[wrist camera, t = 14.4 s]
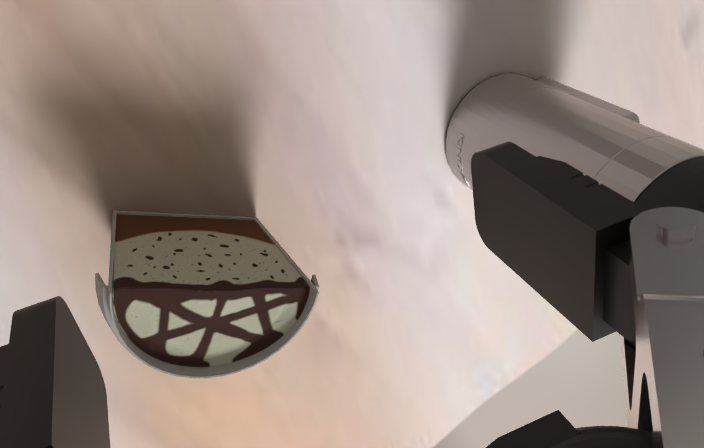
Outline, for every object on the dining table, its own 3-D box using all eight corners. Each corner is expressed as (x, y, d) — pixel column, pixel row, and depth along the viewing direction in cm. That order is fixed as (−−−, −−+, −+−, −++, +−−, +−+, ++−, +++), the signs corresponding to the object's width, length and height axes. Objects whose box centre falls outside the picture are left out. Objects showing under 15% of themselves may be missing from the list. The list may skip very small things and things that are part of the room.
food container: (79, 294, 42) (88, 394, 34) (86, 209, 40) (97, 294, 32) (261, 293, 48) (305, 379, 40) (276, 217, 45) (327, 292, 37)
